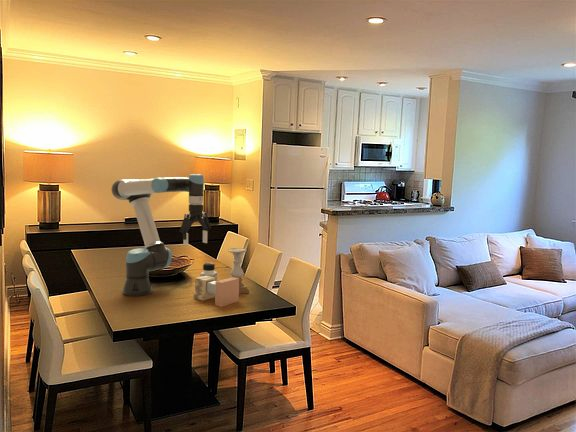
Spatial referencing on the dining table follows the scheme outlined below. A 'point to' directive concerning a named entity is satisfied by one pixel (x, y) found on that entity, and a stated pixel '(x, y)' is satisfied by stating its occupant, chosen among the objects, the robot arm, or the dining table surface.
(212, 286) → the slip bar
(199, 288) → the white blocky piece
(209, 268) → the container
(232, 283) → the socket block
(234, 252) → the candle holder
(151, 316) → the dining table surface
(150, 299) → the dining table surface
